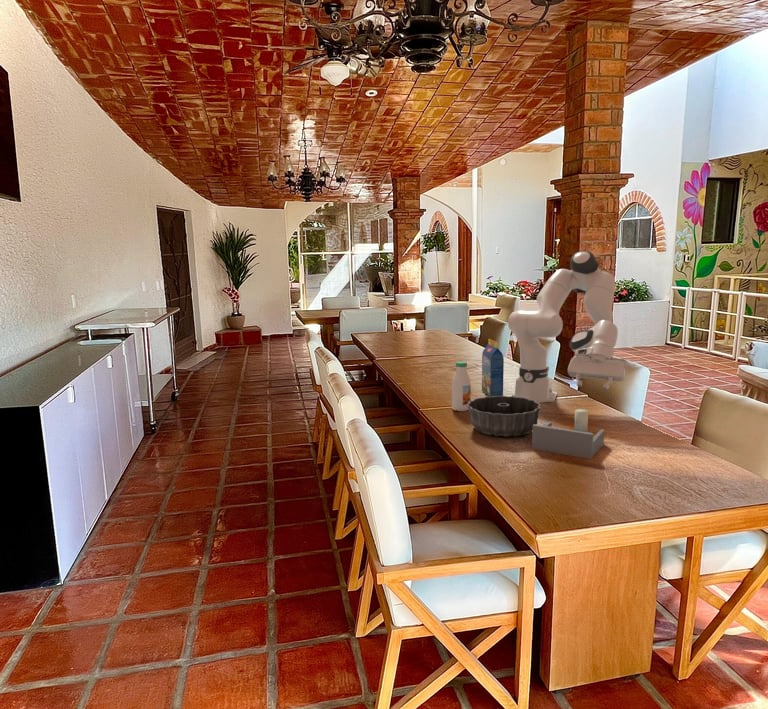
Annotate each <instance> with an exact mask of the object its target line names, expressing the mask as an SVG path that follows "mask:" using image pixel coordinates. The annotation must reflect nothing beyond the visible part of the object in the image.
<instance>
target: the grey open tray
mask: <svg viewBox="0 0 768 709" xmlns="http://www.w3.org/2000/svg"><path fill="white" fill-rule="evenodd" d="M552 424H553V423H552V421H547V422H546V423H544V424H543V425H542V424H537V425H536V424H534V425H533V430H532V431H531V432H532V433H531V435H532V436H531V439H532V440H531V449H532V450H539V451H544V452H549V453H555V454H561V455H567V456H570V457H571V456H572V457H577V458H583V459H589V460H592V459H593V458H594V457H595V455H596V454H597V453H598V452H599V451H600V449H601V448H602V447H603V446H604V444H605V429H603V428H600V430H599V431H597V433H596V434H595V435H594V433H592V432H588V431H587V432H581V431H575V430H573V429H567V428H561V427H560V428H559V427H554V426H552Z"/></svg>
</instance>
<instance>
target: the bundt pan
mask: <svg viewBox="0 0 768 709" xmlns="http://www.w3.org/2000/svg"><path fill="white" fill-rule="evenodd" d="M467 407H468V408H469V410H468V413H469V418H470V423H471V424H472V426H473V427H474V429H475V430H476V431H477V432H479V433H481V434H482V433H483V434H485V435H489V436H492V435H494V437H496V438H498V437H499V436H503V437H504V438H505V437H506V438H507V437H511V436H513V437H516V438H517V437H519V436H520V435H522V436H524V435H526V434H528V433H531V432H532V430H533V425H534V424H536V425H538V419H539V413H540V410H541V409H542V408H541V403H537V402H535V401H534V400H530V399H527V398H522V397H514V396H512V395H511V396H510V395H509V396H506V395H503V396H492V397H490V396H484V397H477V398H474V399H471V401H469V402H468V404H467Z"/></svg>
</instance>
